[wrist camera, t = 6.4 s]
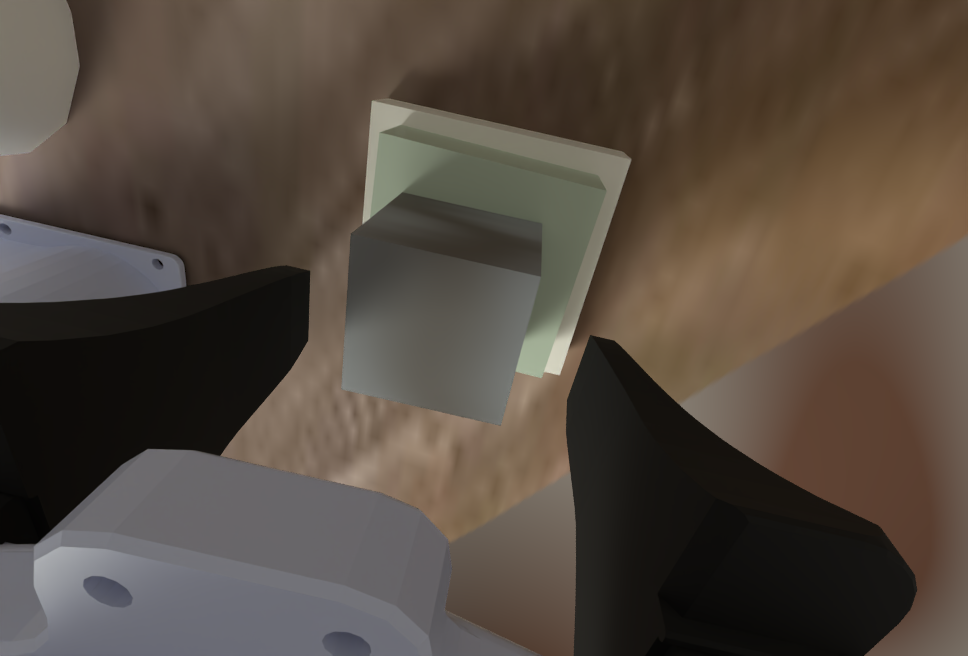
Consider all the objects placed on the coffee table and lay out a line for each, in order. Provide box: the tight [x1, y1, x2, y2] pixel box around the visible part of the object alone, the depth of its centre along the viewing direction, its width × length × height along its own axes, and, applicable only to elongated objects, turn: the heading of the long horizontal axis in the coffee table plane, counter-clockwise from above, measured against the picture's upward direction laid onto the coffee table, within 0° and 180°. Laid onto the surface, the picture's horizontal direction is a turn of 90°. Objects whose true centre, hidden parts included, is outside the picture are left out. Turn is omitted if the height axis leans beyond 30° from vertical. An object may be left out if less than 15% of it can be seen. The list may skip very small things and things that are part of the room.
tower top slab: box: [370, 125, 607, 378], centre depth 17 cm, size 7×7×2 cm
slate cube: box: [342, 192, 542, 426], centre depth 14 cm, size 4×4×4 cm
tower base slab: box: [362, 98, 632, 375], centre depth 19 cm, size 9×9×2 cm
